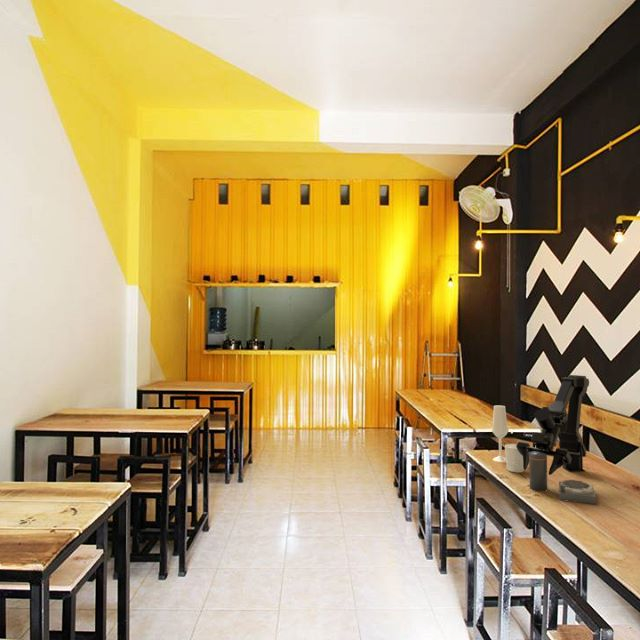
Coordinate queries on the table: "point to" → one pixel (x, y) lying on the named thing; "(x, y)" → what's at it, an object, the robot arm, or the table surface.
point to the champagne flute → (499, 428)
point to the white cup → (513, 458)
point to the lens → (538, 471)
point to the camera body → (577, 491)
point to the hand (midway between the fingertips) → (536, 471)
